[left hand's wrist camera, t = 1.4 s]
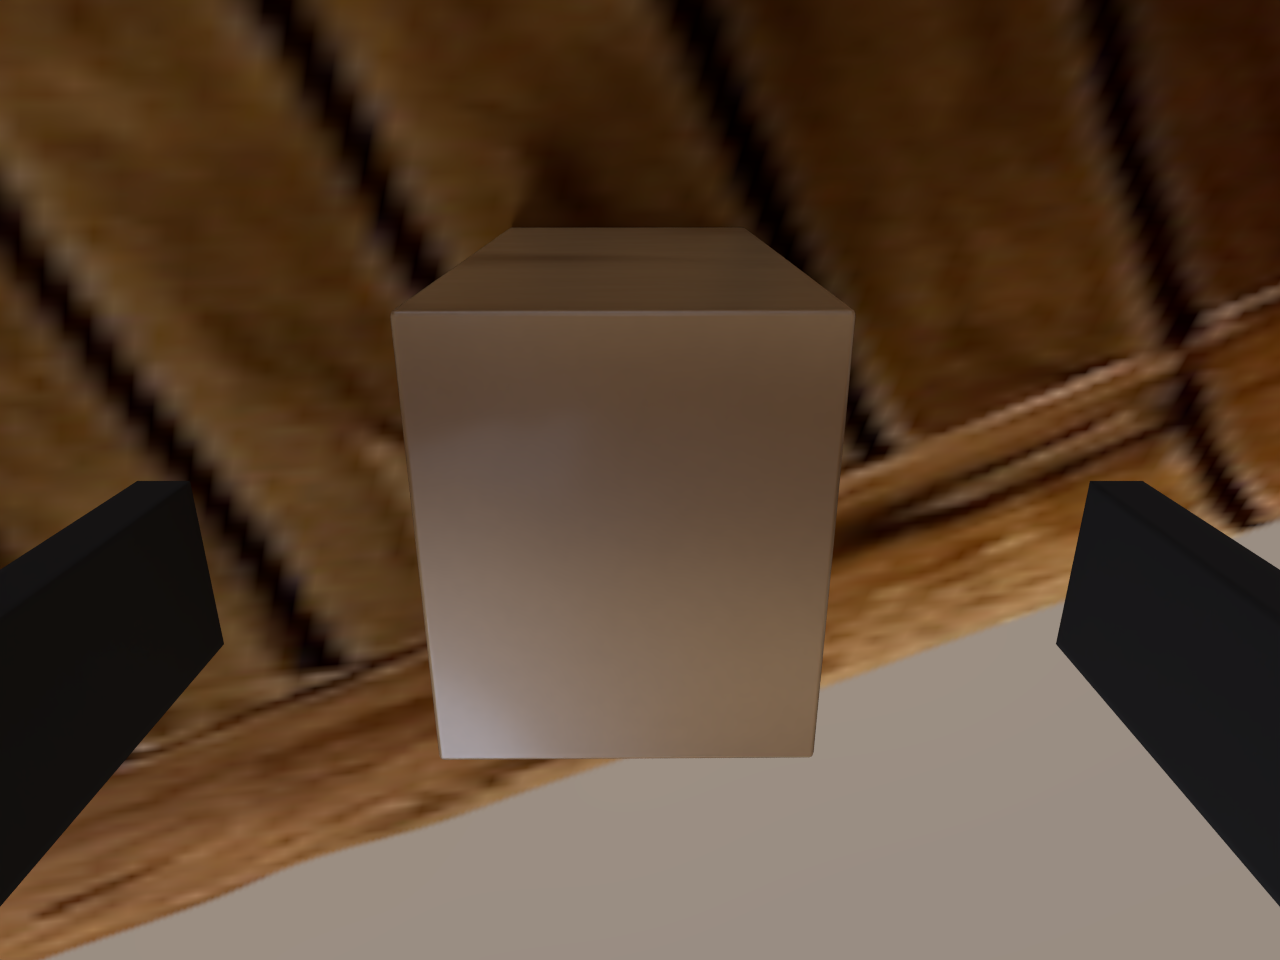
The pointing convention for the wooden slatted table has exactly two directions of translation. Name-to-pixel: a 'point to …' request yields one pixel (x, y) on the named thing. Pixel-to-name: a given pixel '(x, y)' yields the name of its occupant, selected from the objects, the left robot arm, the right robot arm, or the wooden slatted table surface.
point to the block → (624, 492)
